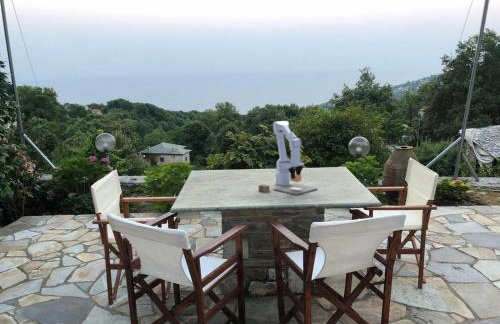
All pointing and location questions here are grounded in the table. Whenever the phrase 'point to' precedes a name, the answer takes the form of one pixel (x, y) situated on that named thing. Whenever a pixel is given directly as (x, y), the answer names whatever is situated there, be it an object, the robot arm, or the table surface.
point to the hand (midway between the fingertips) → (295, 177)
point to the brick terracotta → (296, 178)
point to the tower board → (295, 189)
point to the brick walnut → (264, 188)
